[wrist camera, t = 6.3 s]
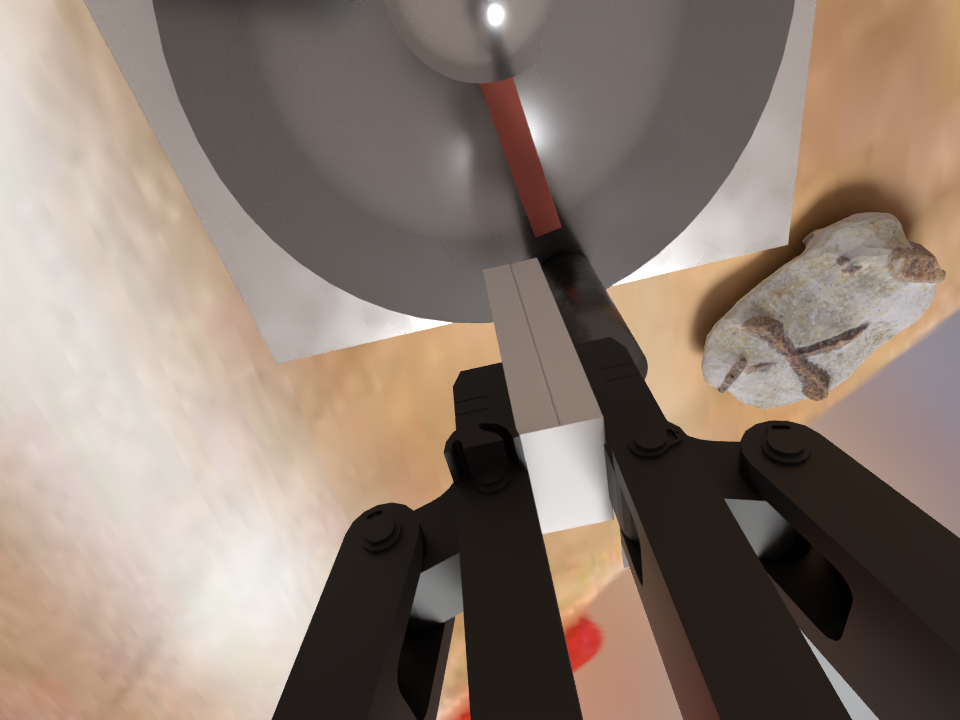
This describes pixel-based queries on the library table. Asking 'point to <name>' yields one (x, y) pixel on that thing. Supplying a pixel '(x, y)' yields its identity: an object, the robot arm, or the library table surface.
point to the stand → (351, 321)
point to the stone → (821, 313)
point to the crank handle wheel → (474, 135)
